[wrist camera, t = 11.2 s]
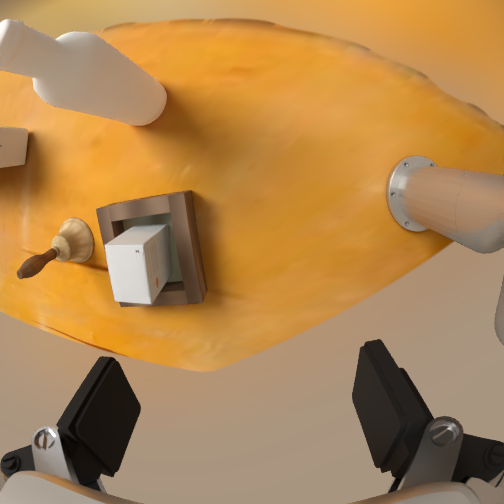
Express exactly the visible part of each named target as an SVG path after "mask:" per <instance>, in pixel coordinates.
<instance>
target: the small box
mask: <svg viewBox="0 0 504 504" xmlns="http://www.w3.org/2000/svg"><path fill="white" fill-rule="evenodd" d="M105 252H106V258H107V264H108V269H109V275H110V280H111V285H112V290H113V295H114V299H115V301H118V302H128V303H140V304H152V303H153V302H154V300H155V299H156V297H157V296H158V294H159V292H160V291H161V289H162V288H163V286H164V285H165V283H166V282H167V280H168V279H169V277H170V276H171V274H172V263H171V253H170V241H169V229H168V224H150V225H135V226H133V227H132V228H130V229H128V230H127V231H125V232H124V233H122V234H121V235H119V236H117V237H116V238H114V239H113V240H111V241H110V242H108V243H107V244H105Z"/></svg>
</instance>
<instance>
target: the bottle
mask: <svg viewBox="0 0 504 504" xmlns="http://www.w3.org/2000/svg"><path fill="white" fill-rule="evenodd" d="M0 70H2V71H7V72H12V73H16V74H20V75H24V76H28V77H32V78H33V86H34V90H35V91H36V93H37V94H38V95H39V97H40V98H41V99H42V100H44V101H45V102H46V103H47V104H49V105H52V106H54V107H58V108H63V109H68V110H73V111H77V112H82V113H87V114H91V115H95V116H99V117H104V118H108V119H112V120H116V121H119V122H123V123H125V124H128V125H134V126H144V125H147V124H150V123H152V122H153V121H154V120H156V119H157V118H158V117H159V116H160V115H161V113H162V112H163V111H164V108H165V105H166V103H167V94H166V91H165V88H164V87H163V86H162V84H161V83H160V82H159V81H158V80H157V79H156V78H154V77H153V76H151V75H149V74H148V73H147V72H146V71H144V70H143V69H142V68H141V67H139V66H138V65H137V64H135V63H134V62H133V61H131V60H130V59H129V58H128V57H126V56H125V55H124V54H122V53H121V52H119V51H118V50H117V49H115V48H114V47H113V46H111V45H110V44H109V43H107V42H106V41H104V40H103V39H101V38H100V37H99V36H97V35H96V34H91V33H86V32H70V33H66V34H63V35H61V36H60V37H58V38H57V39H54V38H52V37H50V36H48V35H46V34H43V33H41V32H39V31H37V30H35V29H32V28H30V27H28V26H26V25H24V23H23V22H21V21H13V20H11V19H5V20H4V21H2V22H0Z"/></svg>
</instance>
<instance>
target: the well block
mask: <svg viewBox="0 0 504 504" xmlns="http://www.w3.org/2000/svg"><path fill="white" fill-rule="evenodd" d="M96 211H97V216H98V222H99V226H100V231H101V236H102V240H103V245H104V249H105V244H107V243H108V242H110V241H111V240H113V239H114V238H116V237H117V236H119V235H121V234H122V233H124V232H125V231H127V230H128V229H130V228H132V227H133V226H135V225H150V224H168V229H169V241H170V253H171V263H172V274H171V276H170V277H169V279H168V280H167V282H166V283H165V285H164V286H163V288H162V289H161V291H160V292H159V294H158V296H157V297H156V299H155V300H154V302H153V303H152V304H140V303H128V302H119V303H120V306H121V307H135V306H161V305H180V304H197V303H203V301H204V298H205V295H206V292H207V286H206V281H205V275H204V269H203V264H202V258H201V252H200V246H199V240H198V233H197V227H196V220H195V214H194V207H193V200H192V192H191V190H188V191H182V192H175V193H169V194H163V195H157V196H151V197H145V198H140V199H134V200H129V201H124V202H119V203H114V204H109V205H107V206H104V207H101V208H98V209H96ZM105 253H106V252H105Z"/></svg>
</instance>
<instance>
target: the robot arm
mask: <svg viewBox="0 0 504 504" xmlns="http://www.w3.org/2000/svg"><path fill="white" fill-rule="evenodd" d="M404 164H405V166H404ZM391 193H392V195H391ZM387 203H388V207H389V210H390V212H391V214H392V216H393V218H394V219H395V220H396V222H397V223H398V224H399V225H401V226H402V227H404V228H406V229H408V230H410V231H415V232H418V231H424V230H427V229H430V230H433V231H435V232H437V233H439V234H441V235H443V236H445V237H447V238H449V239H451V240H453V241H456V242H458V243H460V244H461V245H464V246H466V247H468V248H470V249H472V250H474V251H476V252H479V253H484V254H485V253H493V252H495V251H498V250H500V249H502V248H503V247H504V175H498V174H490V173H484V172H477V171H470V170H462V169H454V168H444V167H438V166H437V165H436V164H435V163H434V162H433V161H431V160H430V159H428V158H426V157H423V156H410V157H407V158H405V159H403V160H401V161H400V162H399V163H398V164H397V165H396V166H395V167H394V169H393V170H392V172H391V174H390V177H389V180H388V184H387ZM495 331H496V334H497V337H498V338H499V340H500V342H501V343H502V344H503V345H504V277H503V282H502V287H501V292H500V296H499V301H498V305H497V309H496V314H495ZM352 399H353V403H354V406H355V409H356V412H357V415H358V417H359V420H360V423H361V425H362V429H363V432H364V435H365V438H366V440H367V443H368V446H369V450H370V453H371V456H372V459H373V462H374V465H375V467H376V468H380V469H381V472H382V473H384V472H387V471H391V473H392V476H393V477H394V479H393V481H392V483H391V485H390V486H389V488H388V490H387V492H386V494H384V495H380V496H376V497H372V498H369V499H365V500H361V501H357V502H353V503H348V504H504V443H503V442H500V441H496V440H491V439H486V438H480V437H477V436H472V435H468V434H464V433H463V428H462V425H461V424H460V423H459V421H457V420H456V419H455V418H452V417H448V416H442V417H437V418H435V419H434V418H433V416H432V414H431V412H430V411H429V409H428V407H427V405H426V404H425V402H424V400H423V399H422V397H421V395H420V394H419V392H418V390H417V389H416V387H415V385H414V384H413V382H412V380H411V379H410V377H409V375H408V374H407V372H406V371H405V370H404V369H403V368H399V367H398V366H397V364H396V363H395V361H394V359H393V358H392V356H391V355H390V353H389V351H388V350H387V348H386V347H385V345H384V343H383V342H382V341H381V340H380V339H378V340H373V341H368V342H365V344H364V346H362V347H361V348H360V353H359V359H358V365H357V371H356V377H355V382H354V387H353V392H352ZM140 410H141V407H140V403H139V402H138V400H137V398H136V396H135V394H134V392H133V390H132V388H131V386H130V384H129V382H128V380H127V378H126V377H125V374H124V372H123V370H122V368H121V366H120V364H119V362H118V361H116V360H115V358H113V357H103V356H102V357H100V358H99V359H98V360H97V362H96V363H95V364H94V366H93V367H92V369H91V370H90V372H89V373H88V375H87V377H86V378H85V380H84V381H83V383H82V384H81V386H80V388H79V389H78V390H77V392H76V393H75V395H74V397H73V398H72V400H71V401H70V403H69V405H68V406H67V408H66V409H65V411H64V413H63V415H62V416H61V418H60V419H59V421H58V423H57V427H58V430H56V429H55V428H53V427H50V426H45V427H41V428H40V429H38V430H37V431H36V432H35V433H34V434H33V437H32V441H31V444H32V445H29V446H26V447H24V448H20V449H17V450H14V451H12V452H9V453H7V454H5V455H4V456H3V458H2V460H1V464H0V465H1V466H0V504H142V503H138V502H134V501H130V500H126V499H123V498H119V497H116V496H112V495H109V494H107V493H106V490H105V488H104V486H103V484H102V481H101V479H100V475H101V473H102V474H104V475H107V476H110V477H114V474H115V472H117V471H118V470H119V468H120V465H121V462H122V459H123V457H124V454H125V451H126V448H127V446H128V443H129V440H130V438H131V435H132V432H133V429H134V427H135V424H136V422H137V419H138V417H139V414H140Z"/></svg>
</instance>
